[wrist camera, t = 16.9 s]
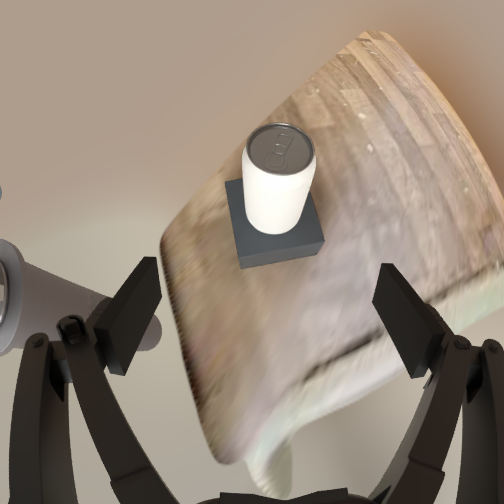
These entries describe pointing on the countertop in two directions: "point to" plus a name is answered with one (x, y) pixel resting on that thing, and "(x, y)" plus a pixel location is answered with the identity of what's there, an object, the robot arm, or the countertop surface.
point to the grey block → (272, 245)
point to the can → (277, 176)
